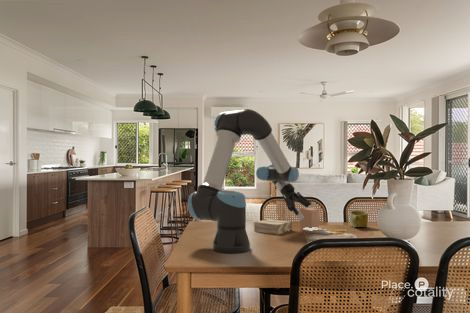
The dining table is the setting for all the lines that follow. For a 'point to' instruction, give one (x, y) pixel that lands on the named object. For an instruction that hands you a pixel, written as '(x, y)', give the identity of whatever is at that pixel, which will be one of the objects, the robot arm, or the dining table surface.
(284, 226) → the ash block
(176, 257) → the dining table surface
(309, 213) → the terracotta block
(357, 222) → the mug
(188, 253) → the dining table surface
